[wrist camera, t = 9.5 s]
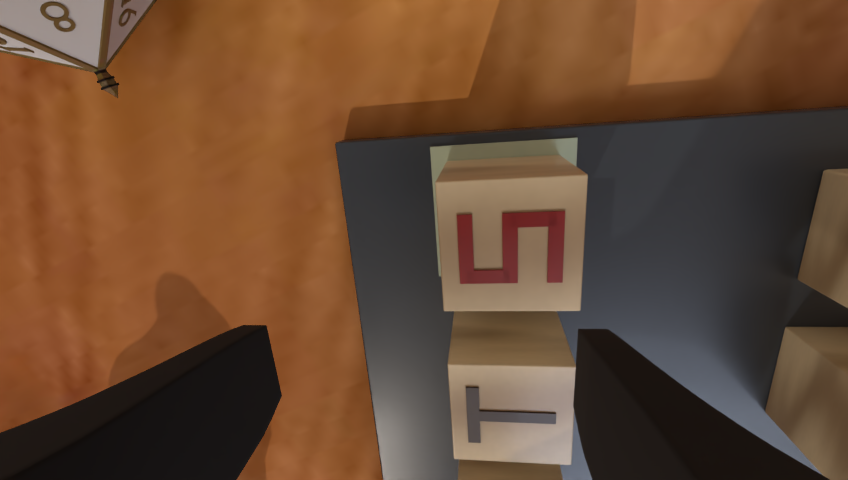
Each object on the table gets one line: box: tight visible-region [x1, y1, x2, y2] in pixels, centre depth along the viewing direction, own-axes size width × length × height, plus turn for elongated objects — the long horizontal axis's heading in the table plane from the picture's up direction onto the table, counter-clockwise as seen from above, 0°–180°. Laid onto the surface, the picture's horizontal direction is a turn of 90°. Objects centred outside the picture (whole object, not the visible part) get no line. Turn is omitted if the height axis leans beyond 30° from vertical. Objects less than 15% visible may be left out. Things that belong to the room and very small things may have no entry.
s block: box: [435, 155, 588, 311], centre depth 14 cm, size 4×4×4 cm
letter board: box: [335, 106, 848, 480], centre depth 16 cm, size 22×24×5 cm
